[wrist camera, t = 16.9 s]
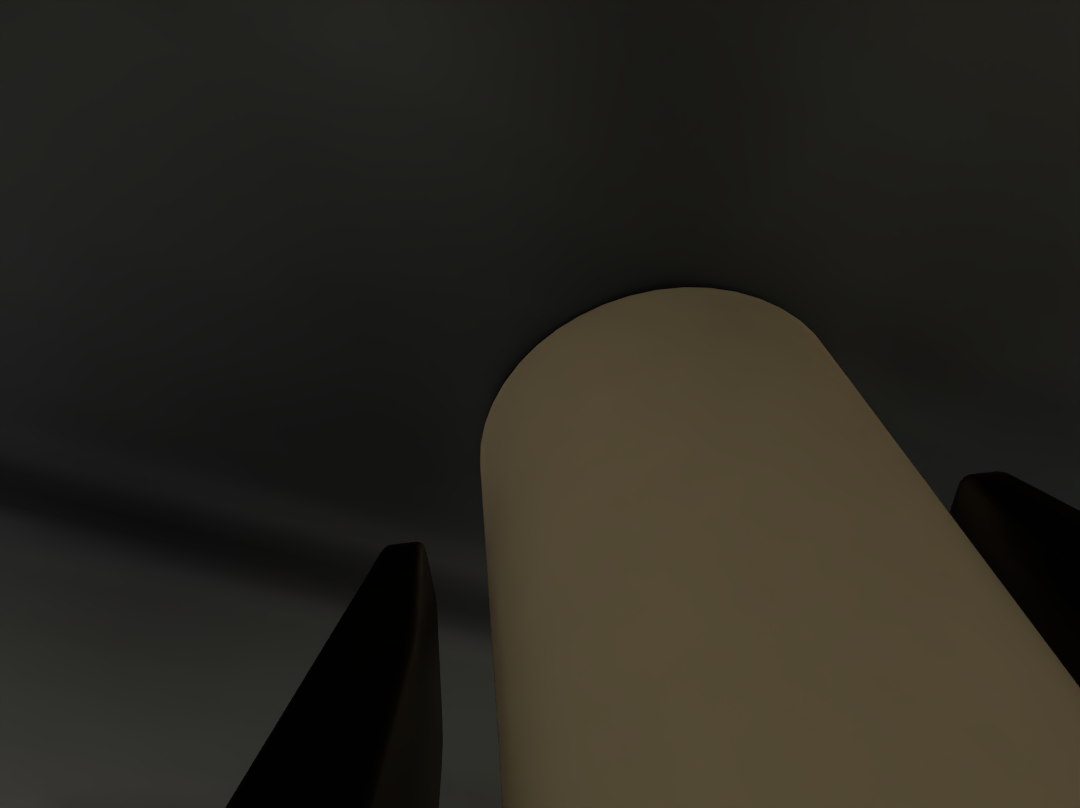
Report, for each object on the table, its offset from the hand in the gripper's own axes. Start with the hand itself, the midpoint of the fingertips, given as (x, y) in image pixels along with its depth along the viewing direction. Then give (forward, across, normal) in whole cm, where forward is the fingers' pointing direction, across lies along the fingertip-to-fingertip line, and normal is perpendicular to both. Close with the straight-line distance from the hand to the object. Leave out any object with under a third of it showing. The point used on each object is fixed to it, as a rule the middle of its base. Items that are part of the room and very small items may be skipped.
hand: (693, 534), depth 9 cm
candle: (+2, 0, 0) cm, 2 cm away
